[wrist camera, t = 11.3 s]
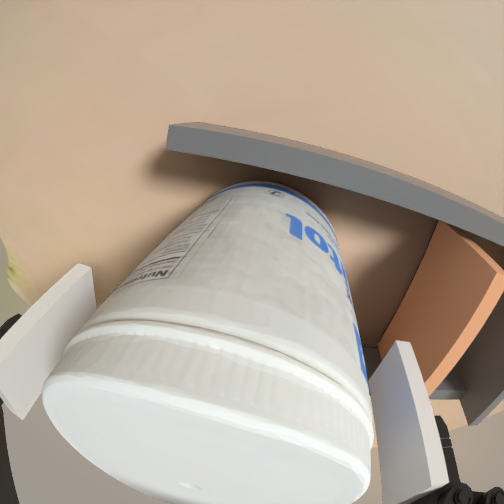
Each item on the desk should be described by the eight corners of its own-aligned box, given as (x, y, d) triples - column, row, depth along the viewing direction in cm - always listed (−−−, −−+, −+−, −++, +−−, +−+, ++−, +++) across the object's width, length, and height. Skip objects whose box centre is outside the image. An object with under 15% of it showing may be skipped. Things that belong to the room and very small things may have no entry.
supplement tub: (364, 259, 18) (431, 489, 5) (258, 331, 22) (218, 524, 9) (262, 141, 16) (105, 275, 3) (161, 242, 20) (19, 414, 7)
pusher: (377, 344, 21) (393, 417, 14) (439, 218, 16) (496, 272, 10) (418, 351, 20) (441, 417, 14) (482, 235, 16) (538, 288, 9)
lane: (176, 315, 22) (140, 380, 16) (196, 122, 16) (137, 129, 10) (455, 368, 21) (477, 424, 15) (532, 234, 15) (584, 278, 8)
